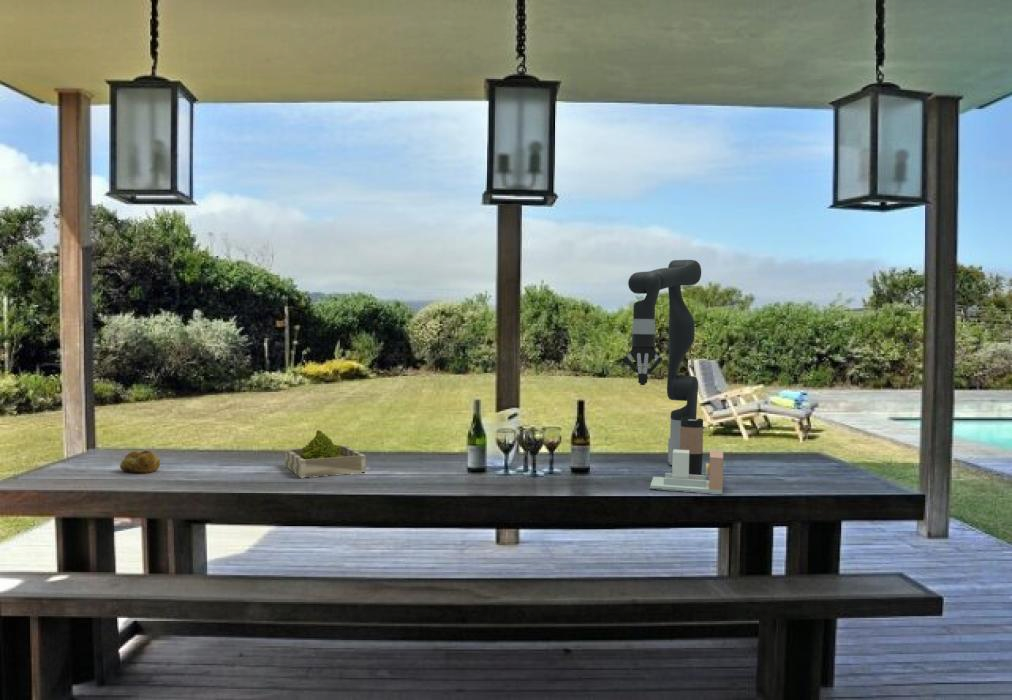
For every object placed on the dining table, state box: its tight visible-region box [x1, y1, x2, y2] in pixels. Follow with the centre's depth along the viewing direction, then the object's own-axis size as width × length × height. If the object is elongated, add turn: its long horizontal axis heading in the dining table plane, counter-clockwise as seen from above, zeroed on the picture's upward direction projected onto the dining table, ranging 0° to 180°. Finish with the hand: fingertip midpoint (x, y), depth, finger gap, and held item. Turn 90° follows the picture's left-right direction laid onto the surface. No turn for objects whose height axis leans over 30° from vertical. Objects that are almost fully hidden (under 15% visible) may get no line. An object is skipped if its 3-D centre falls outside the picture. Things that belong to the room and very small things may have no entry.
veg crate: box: [284, 445, 367, 479], centre depth 275 cm, size 23×22×6 cm
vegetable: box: [299, 429, 343, 460], centre depth 275 cm, size 15×16×15 cm
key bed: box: [649, 449, 724, 494], centre depth 253 cm, size 22×14×12 cm, turn 75°
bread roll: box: [119, 449, 161, 474], centre depth 268 cm, size 13×10×8 cm
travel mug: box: [680, 418, 704, 475], centre depth 269 cm, size 8×8×20 cm
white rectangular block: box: [671, 449, 689, 479], centre depth 253 cm, size 5×6×10 cm
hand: (642, 384), depth 262 cm, fingers closed
